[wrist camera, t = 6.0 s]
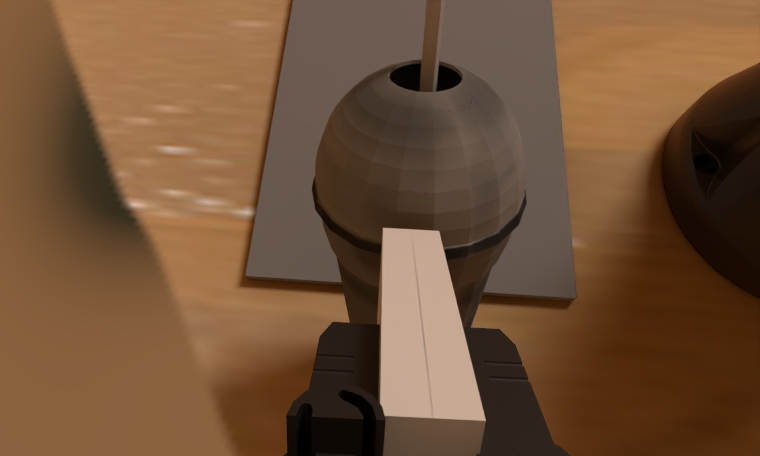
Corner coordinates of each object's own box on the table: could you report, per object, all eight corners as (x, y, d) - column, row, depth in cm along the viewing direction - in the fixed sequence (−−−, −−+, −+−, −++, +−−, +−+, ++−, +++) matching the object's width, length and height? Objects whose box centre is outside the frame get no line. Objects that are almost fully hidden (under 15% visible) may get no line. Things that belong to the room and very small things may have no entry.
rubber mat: (308, -74, 37) (307, -82, 37) (542, -59, 37) (545, -67, 37) (247, 278, 27) (245, 275, 26) (572, 300, 27) (576, 298, 26)
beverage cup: (311, 416, 22) (210, -99, 9) (357, 298, 28) (337, -140, 14) (469, 459, 21) (626, -77, 8) (486, 326, 26) (599, -132, 13)
